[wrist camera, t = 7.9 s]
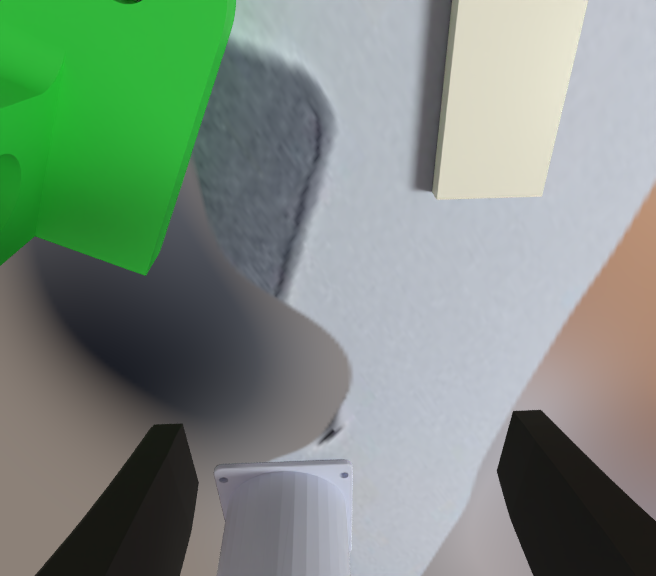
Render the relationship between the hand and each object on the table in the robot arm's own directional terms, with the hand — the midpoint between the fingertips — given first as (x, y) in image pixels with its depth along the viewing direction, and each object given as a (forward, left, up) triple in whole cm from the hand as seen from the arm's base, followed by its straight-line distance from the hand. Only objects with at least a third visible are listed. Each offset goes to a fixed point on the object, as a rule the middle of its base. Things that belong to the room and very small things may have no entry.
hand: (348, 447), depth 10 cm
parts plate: (+8, -6, -10) cm, 14 cm away
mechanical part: (+6, +7, -11) cm, 14 cm away
